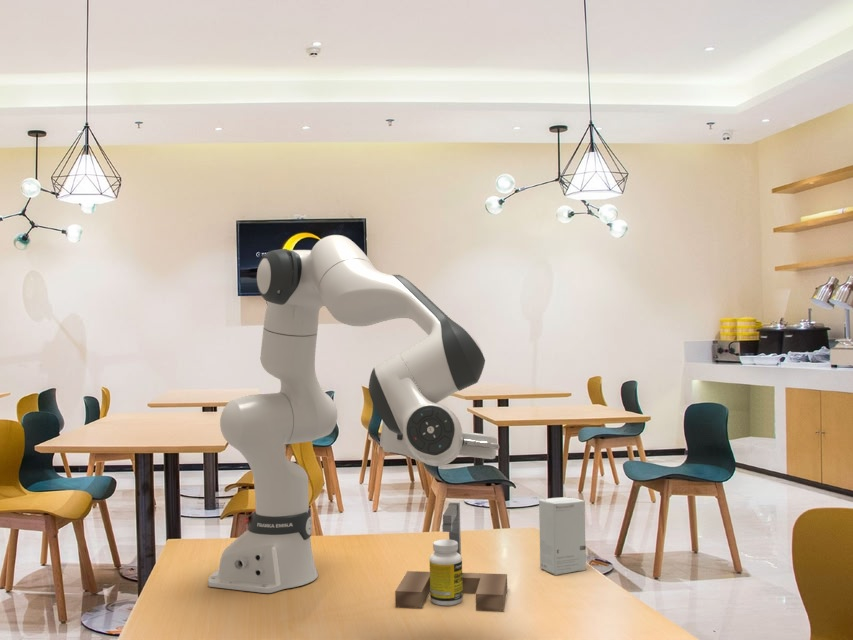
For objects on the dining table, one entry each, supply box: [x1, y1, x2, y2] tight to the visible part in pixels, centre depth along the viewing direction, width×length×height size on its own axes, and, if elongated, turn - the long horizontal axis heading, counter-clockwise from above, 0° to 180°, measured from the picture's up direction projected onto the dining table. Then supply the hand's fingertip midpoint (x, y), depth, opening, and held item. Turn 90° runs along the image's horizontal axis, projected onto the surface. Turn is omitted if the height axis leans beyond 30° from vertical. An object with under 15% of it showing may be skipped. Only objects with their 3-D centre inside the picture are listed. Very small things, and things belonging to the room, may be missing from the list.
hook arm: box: [441, 502, 462, 556], centre depth 144 cm, size 2×12×17 cm, turn 170°
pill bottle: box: [429, 538, 464, 607], centre depth 143 cm, size 6×6×11 cm
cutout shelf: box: [394, 570, 508, 612], centre depth 144 cm, size 20×12×3 cm, turn 80°
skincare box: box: [538, 496, 587, 576], centre depth 160 cm, size 8×6×15 cm
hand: (440, 444), depth 136 cm, fingers open, 8 cm apart
